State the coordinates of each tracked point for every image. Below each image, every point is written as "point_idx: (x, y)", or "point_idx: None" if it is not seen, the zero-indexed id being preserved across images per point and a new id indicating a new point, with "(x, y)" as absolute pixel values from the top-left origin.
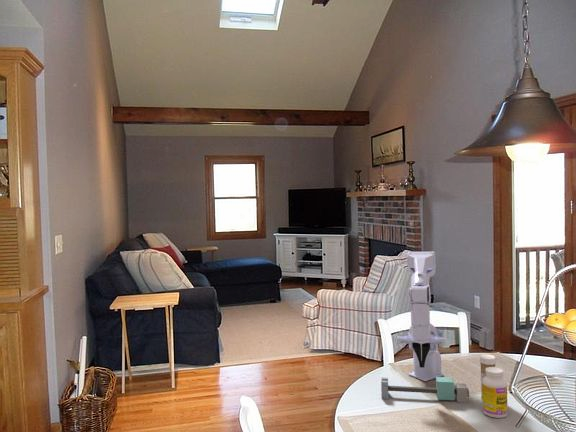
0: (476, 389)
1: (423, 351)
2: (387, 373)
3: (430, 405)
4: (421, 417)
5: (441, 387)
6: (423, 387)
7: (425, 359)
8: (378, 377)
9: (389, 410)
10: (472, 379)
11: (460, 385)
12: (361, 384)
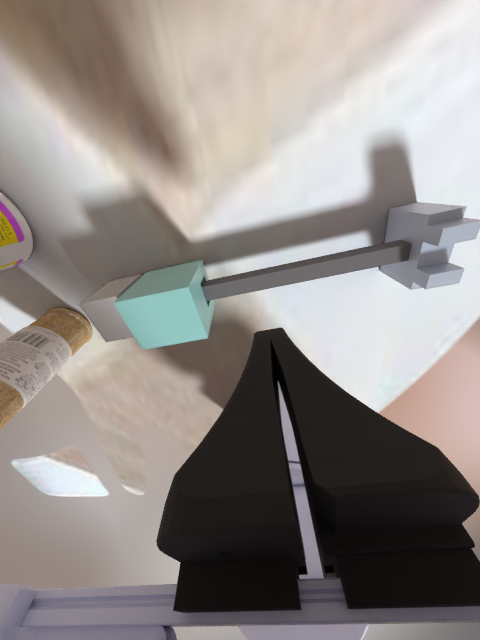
0: (128, 369)
1: (265, 435)
2: (367, 391)
3: (218, 210)
4: (230, 23)
5: (175, 280)
6: (256, 290)
7: (244, 369)
8: (397, 365)
9: (400, 57)
10: (158, 410)
11: (114, 321)
12: (469, 306)
